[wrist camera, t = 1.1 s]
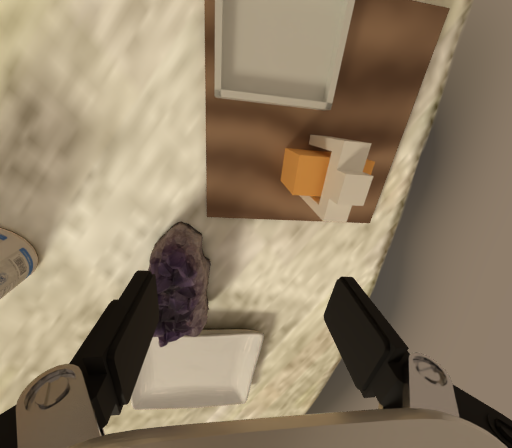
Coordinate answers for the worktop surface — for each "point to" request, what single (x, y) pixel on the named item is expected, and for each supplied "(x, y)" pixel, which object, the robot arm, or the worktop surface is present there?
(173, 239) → the geode
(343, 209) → the beige blocky piece
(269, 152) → the board
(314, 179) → the orange block
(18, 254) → the supplement tub
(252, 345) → the square plate
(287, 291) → the worktop surface
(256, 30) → the tray
